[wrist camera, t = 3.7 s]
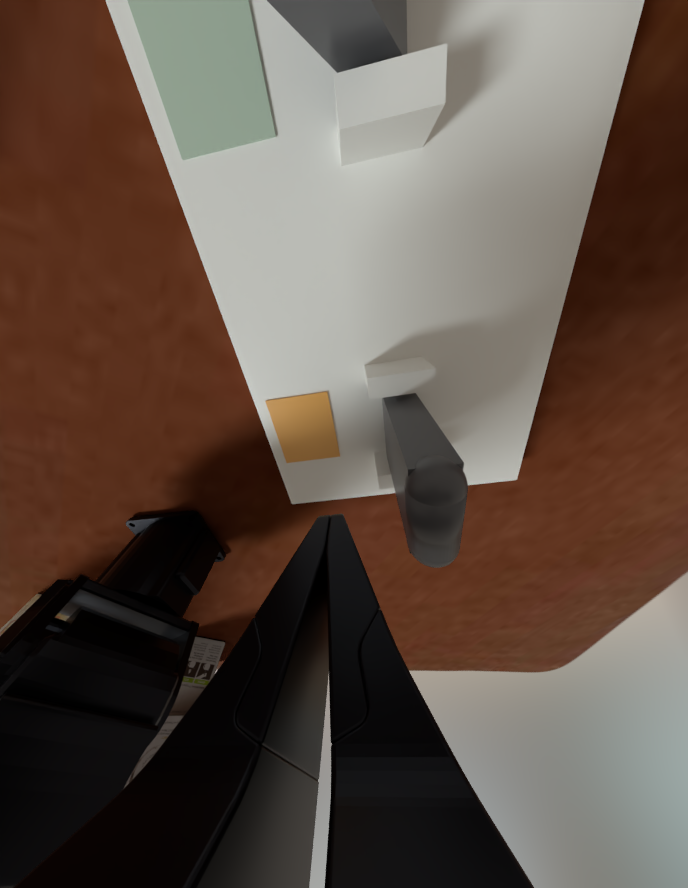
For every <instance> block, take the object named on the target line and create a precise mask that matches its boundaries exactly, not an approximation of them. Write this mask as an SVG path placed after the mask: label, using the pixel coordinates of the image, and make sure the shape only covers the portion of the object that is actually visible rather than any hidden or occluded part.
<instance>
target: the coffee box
mask: <svg viewBox="0 0 688 888" xmlns="http://www.w3.org/2000/svg"><path fill="white" fill-rule="evenodd" d="M224 646H225V642H222V641H216V640H211V639H206V638H201V637H195V640H194V644H193V647H192V650H191V654H190V657H189V660H188V664H187V667H186V670H185V674H184V677H183V681H182V684H181V687H180V690H179V693H178V696H177V698H176V701H175V703H174V705H173V708H172V710H171V712H170V714H169V716H168V718H167V719H166V721H165V723H164V725H163V726H162V728H161V730H160V731H159V733H158V734H157V736H156V737H155V738H154V740H153V741H152V742H151V743H150V745H149V746H148V747H147V748H146V750H145V751H144V753H143V754H142V756H141V758H140V759H139V761H138V763H137V765H136V766H135V768H134V770H133V772H132V774H131V775H130V777H129V779H128V781H127V783H126V785H125V787H126V786H127V785H128V784H129V783H130V782H131V781H132V780H133V778H134V777H135V776H136V775H137V774H138V773H139V772H140V771H141V770H142V769H143V767H144V766H145V765H146V764H147V763H148V762H149V760H150V759H151V758H152V757H153V756H154V754H155V753H156V752H157V750H158V749H159V748H160V747H161V745H162V744H163V743H164V741H165V740H166V739H167V737H168V736H169V735H170V733H171V732H172V731H173V729H174V728H175V727H176V725H177V724H178V723H179V722H180V720H181V719H182V718H183V716H184V715H185V714H186V712H187V711H188V710H189V708H190V707H191V706H192V704H193V703H194V702H195V700H196V699H197V698H198V696H199V695H200V694H201V692H202V691H203V690H204V688H205V687H206V686H207V684H208V683H209V682H210V680H211V679H212V678H213V676H214V674H215V671H216V668H217V665H218V663H219V660H220V657H221V654H222V651H223V648H224ZM125 787H124V788H125Z"/></svg>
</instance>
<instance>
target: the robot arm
mask: <svg viewBox="0 0 688 888" xmlns="http://www.w3.org/2000/svg"><path fill="white" fill-rule="evenodd" d="M126 525H127V526H128V527H129V529H130V530H131V531H132V532H133V533H134V534H135V535H136V536H135V537H134V538H133V539H132V540H131V541H130V542H129V543H128V545H127V546H126V547H125V548H124V549H123V550H122V551H121V553H120V554H119V555H118V556H117V557H116V558H115V559H114V561H113V562H112V563H111V564H110V565H109V566H108V567H107V569H106V570H105V571H104V572H103V573H102V574H101V575H100V576H99V578H98V579H97V580H96V581H92V580H90V579H89V578H90V577H87V576H85V575H83V574H80V575H79V576H78V577H77V578H76V579H75V580H74V581H73V580H60V579H58V580H57V581H56V582H55V583H54V584H53V585H52V586H51V587H50V588H49V589H48V590H47V591H46V592H45V593H43V594H42V595H41V596H40V597H39V598H38V599H37V600H36V601H35V602H34V603H33V604H32V605H31V606H30V607H29V608H28V609H27V610H26V611H25V612H24V613H23V614H22V615H21V616H20V617H19V618H18V619H17V620H16V621H15V622H14V623H13V624H12V625H11V626H10V627H9V628H8V629H7V630H6V631H5V632H4V633H3V634H2V635H1V636H0V888H309V881H310V870H311V860H312V849H313V838H314V828H315V827H314V826H315V816H316V805H317V795H318V784H319V782H318V779H319V772H320V761H321V750H322V739H323V728H324V717H325V707H326V695H327V685H328V674H329V686H330V725H331V726H330V727H331V743H332V746H331V804H330V819H329V834H328V849H327V863H326V877H325V878H326V879H325V888H534V887H533V885H532V884H531V882H530V880H529V879H528V877H527V876H526V874H525V872H524V871H523V869H522V867H521V866H520V864H519V863H518V861H517V859H516V858H515V856H514V855H513V853H512V852H511V850H510V848H509V847H508V845H507V843H506V842H505V841H504V839H503V837H502V835H501V834H500V832H499V831H498V829H497V828H496V826H495V824H494V823H493V821H492V819H491V818H490V816H489V815H488V813H487V811H486V810H485V808H484V806H483V805H482V803H481V801H480V800H479V798H478V796H477V795H476V793H475V791H474V790H473V788H472V786H471V785H470V783H469V781H468V779H467V778H466V776H465V774H464V772H463V771H462V769H461V767H460V765H459V764H458V762H457V760H456V758H455V756H454V755H453V753H452V751H451V749H450V747H449V745H448V743H447V742H446V740H445V738H444V736H443V734H442V732H441V731H440V728H439V727H438V725H437V723H436V721H435V719H434V717H433V715H432V714H431V712H430V710H429V708H428V706H427V704H426V703H425V700H424V699H423V697H422V695H421V693H420V691H419V690H418V687H417V685H416V684H415V682H414V680H413V678H412V676H411V674H410V672H409V670H408V668H407V666H406V664H405V662H404V660H403V658H402V656H401V654H400V652H399V650H398V648H397V646H396V644H395V641H394V639H393V637H392V635H391V632H390V630H389V628H388V625H387V623H386V620H385V618H384V615H383V613H382V611H381V609H380V606H379V603H378V601H377V598H376V596H375V593H374V591H373V588H372V586H371V583H370V581H369V578H368V576H367V573H366V571H365V568H364V566H363V563H362V561H361V558H360V556H359V553H358V551H357V548H356V546H355V543H354V541H353V538H352V536H351V533H350V531H349V528H348V525H347V523H346V520H345V518H344V516H343V514H334V515H331V516H330V515H325V516H319V517H318V518H317V520H316V521H315V523H314V524H313V526H312V527H311V529H310V531H309V532H308V534H307V535H306V537H305V538H304V540H303V541H302V543H301V545H300V546H299V548H298V549H297V551H296V552H295V554H294V555H293V557H292V559H291V560H290V562H289V563H288V565H287V566H286V568H285V570H284V571H283V573H282V574H281V576H280V577H279V579H278V580H277V582H276V584H275V585H274V587H273V588H272V590H271V591H270V593H269V595H268V596H267V598H266V599H265V601H264V602H263V604H262V605H261V607H260V609H259V610H258V612H257V613H256V615H255V618H253V619H252V621H251V622H250V624H249V626H248V627H247V629H246V630H245V632H244V633H243V635H242V636H241V638H240V639H239V641H238V642H237V644H236V645H235V647H234V648H233V650H232V651H231V653H230V654H229V656H228V657H227V658H226V660H225V661H224V663H223V664H222V665H221V667H220V668H219V669H218V671H217V672H216V674H215V675H214V676H213V678H212V679H211V680H210V682H209V683H208V684H207V686H206V687H205V688H204V690H203V691H202V692H201V694H200V695H199V696H198V698H197V699H196V700H195V702H194V703H193V704H192V706H191V707H190V708H189V710H188V711H187V712H186V714H185V715H184V716H183V718H182V719H181V720H180V722H179V723H178V724H177V725H176V727H175V728H174V729H173V731H172V732H171V733H170V735H169V736H168V737H167V739H166V740H165V741H164V743H163V744H162V745H161V747H160V748H159V749H158V750H157V752H156V753H155V754H154V756H153V757H152V758H151V759H150V760H149V762H148V763H147V764H146V765H145V766H144V767H143V769H142V770H141V771H140V772H139V773H138V774H137V775H136V776H135V777H134V778H133V780H132V781H131V782H130V783H129V784H128V785H127V786H126V787H125V785H126V783H127V781H128V779H129V777H130V775H131V774H132V772H133V770H134V768H135V766H136V765H137V763H138V761H139V759H140V758H141V756H142V754H143V753H144V751H145V750H146V748H147V747H148V746H149V745H150V743H151V742H152V741H153V740H154V738H155V737H156V736H157V734H158V733H159V731H160V730H161V728H162V726H163V725H164V723H165V721H166V719H167V718H168V716H169V714H170V712H171V710H172V708H173V705H174V703H175V701H176V698H177V696H178V693H179V690H180V687H181V684H182V681H183V677H184V674H185V670H186V667H187V664H188V660H189V657H190V654H191V650H192V647H193V644H194V640H195V637H196V633H197V630H198V627H199V623H197V622H194V621H192V622H190V621H188V620H185V619H183V618H182V617H183V615H184V613H185V611H186V609H187V607H188V606H189V604H190V602H191V600H192V598H193V596H194V595H197V594H198V593H199V592H200V590H201V588H202V586H203V584H204V582H205V580H206V578H207V576H208V574H209V572H210V570H211V568H212V566H213V564H214V562H220V561H223V560H224V559H225V557H226V554H225V552H224V551H223V549H222V548H221V546H220V545H219V543H218V542H217V540H216V539H215V537H214V536H213V534H212V533H211V531H210V530H209V528H208V527H207V525H206V524H205V522H204V521H203V519H202V518H201V516H200V514H199V513H197V512H195V511H186V512H177V513H168V514H159V515H150V516H141V517H132V518H130V519H129V520H128V521H127V522H126ZM58 613H61V614H63V615H66V616H69V618H68V619H67V620H66V621H64V620H61V619H58V618H55V617H56V615H57V614H58ZM124 787H125V788H124Z"/></svg>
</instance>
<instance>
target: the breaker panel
mask: <svg viewBox="0 0 688 888" xmlns="http://www.w3.org/2000/svg"><path fill="white" fill-rule="evenodd" d="M644 1H645V0H106V3H107V6H108V9H109V11H110V14H111V17H112V19H113V22H114V25H115V27H116V30H117V33H118V36H119V38H120V41H121V44H122V46H123V49H124V52H125V55H126V57H127V60H128V63H129V65H130V68H131V71H132V73H133V76H134V79H135V82H136V84H137V87H138V90H139V92H140V95H141V98H142V100H143V103H144V106H145V109H146V111H147V114H148V117H149V119H150V122H151V125H152V127H153V130H154V133H155V136H156V138H157V141H158V144H159V146H160V149H161V152H162V154H163V157H164V160H165V163H166V165H167V168H168V171H169V173H170V176H171V179H172V182H173V184H174V187H175V190H176V192H177V195H178V198H179V200H180V203H181V206H182V209H183V211H184V214H185V217H186V219H187V222H188V225H189V227H190V230H191V233H192V236H193V238H194V241H195V244H196V246H197V249H198V252H199V254H200V257H201V260H202V263H203V265H204V268H205V271H206V273H207V276H208V279H209V282H210V284H211V287H212V290H213V292H214V295H215V298H216V300H217V303H218V306H219V309H220V311H221V314H222V317H223V319H224V322H225V325H226V327H227V330H228V333H229V336H230V338H231V341H232V344H233V346H234V349H235V352H236V354H237V357H238V360H239V363H240V365H241V368H242V371H243V373H244V376H245V379H246V381H247V384H248V387H249V390H250V392H251V395H252V398H253V400H254V403H255V406H256V409H257V411H258V414H259V417H260V419H261V422H262V425H263V427H264V430H265V433H266V436H267V438H268V441H269V444H270V446H271V449H272V452H273V454H274V457H275V460H276V463H277V465H278V468H279V471H280V473H281V476H282V479H283V481H284V484H285V487H286V490H287V492H288V495H289V498H290V500H291V503H292V504H299V503H308V502H318V501H327V500H336V499H345V498H355V497H364V496H373V495H382V494H391V493H395V489H394V485H393V480H392V476H391V472H390V468H389V464H388V460H387V454H386V442H385V430H384V418H383V406H382V398H384V397H391V396H398V395H405V394H412V393H416V394H417V396H418V397H419V399H420V400H421V401H422V403H423V404H424V406H425V407H426V409H427V410H428V412H429V413H430V414H431V416H432V417H433V419H434V420H435V422H436V423H437V425H438V426H439V427H440V429H441V430H442V432H443V433H444V435H445V436H446V438H447V439H448V440H449V442H450V443H451V445H452V446H453V448H454V449H455V451H456V452H457V453H458V455H459V456H460V458H461V459H462V461H463V462H464V468H463V472H464V473H465V476H466V479H467V483H468V485H474V484H484V483H493V482H502V481H511V480H517V477H518V473H519V470H520V466H521V462H522V458H523V455H524V451H525V447H526V443H527V440H528V436H529V432H530V428H531V425H532V421H533V417H534V413H535V410H536V406H537V402H538V398H539V395H540V391H541V387H542V383H543V380H544V376H545V372H546V368H547V365H548V361H549V357H550V353H551V350H552V346H553V342H554V338H555V335H556V331H557V327H558V323H559V320H560V316H561V312H562V308H563V305H564V301H565V297H566V293H567V290H568V286H569V282H570V278H571V275H572V271H573V267H574V263H575V260H576V256H577V252H578V248H579V245H580V241H581V237H582V233H583V230H584V226H585V222H586V218H587V215H588V211H589V207H590V203H591V200H592V196H593V192H594V188H595V184H596V181H597V177H598V173H599V169H600V166H601V162H602V158H603V154H604V151H605V147H606V143H607V139H608V136H609V132H610V128H611V124H612V121H613V117H614V113H615V109H616V106H617V102H618V98H619V94H620V91H621V87H622V83H623V79H624V76H625V72H626V68H627V64H628V61H629V57H630V53H631V49H632V46H633V42H634V38H635V34H636V31H637V27H638V23H639V19H640V16H641V12H642V8H643V4H644Z"/></svg>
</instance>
